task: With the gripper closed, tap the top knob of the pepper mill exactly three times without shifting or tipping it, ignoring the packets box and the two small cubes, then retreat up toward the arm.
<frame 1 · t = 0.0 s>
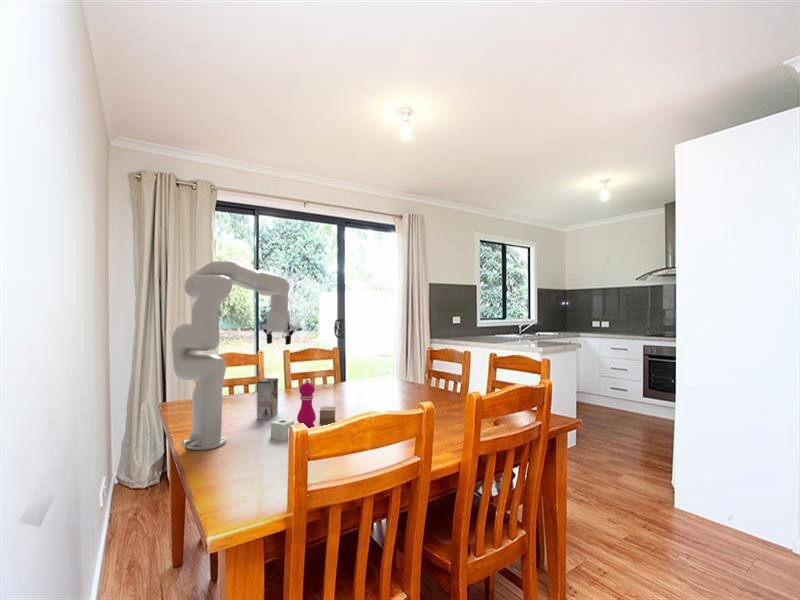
hand: (278, 343, 185), 31 cm above the table, tool pointing down, fingers open, 9 cm apart
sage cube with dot: (282, 437, 150), on the table
walnut cube: (327, 422, 169), on the table
coffee box: (267, 416, 177), on the table
pepper mill: (306, 429, 160), on the table
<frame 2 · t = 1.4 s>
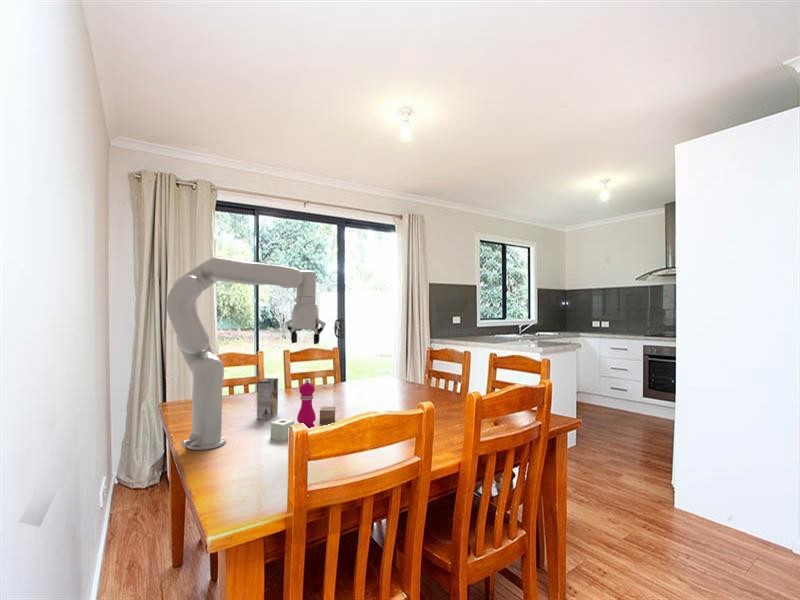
hand: (305, 343, 162), 34 cm above the table, tool pointing down, fingers open, 9 cm apart
nothing on the table moved.
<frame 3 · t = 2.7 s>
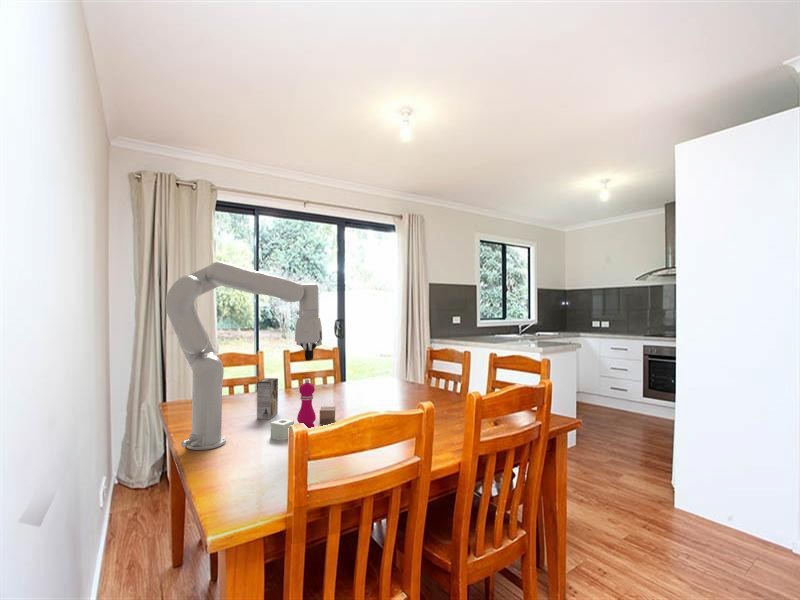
hand: (309, 360, 160), 28 cm above the table, tool pointing down, fingers closed
nothing on the table moved.
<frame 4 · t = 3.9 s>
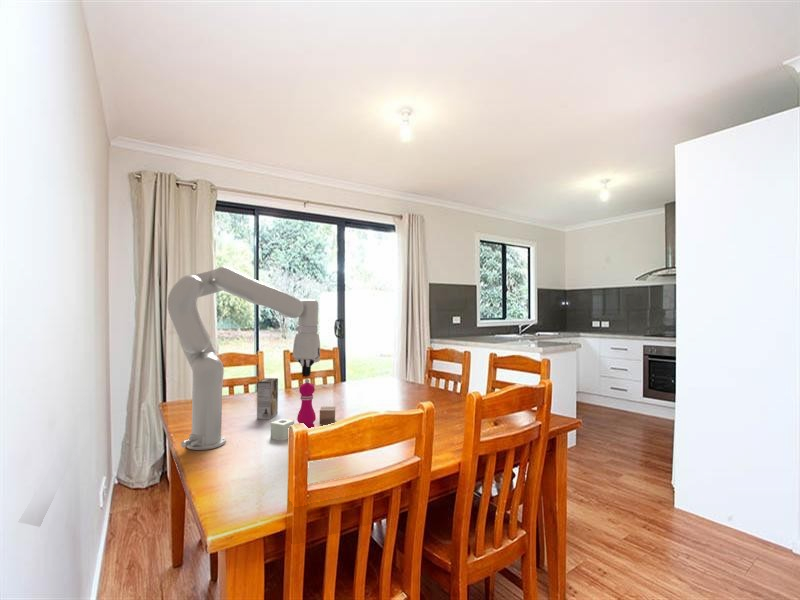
hand: (306, 376, 160), 21 cm above the table, tool pointing down, fingers closed
nothing on the table moved.
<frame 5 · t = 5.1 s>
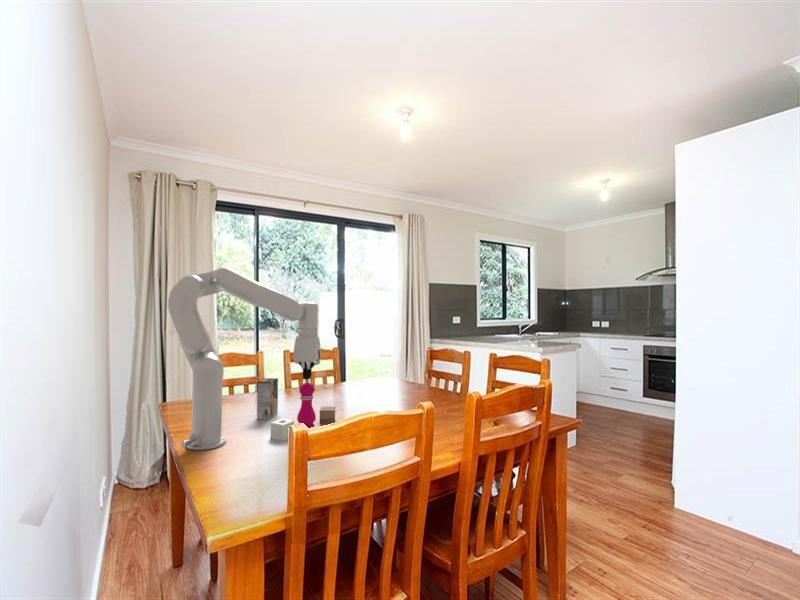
hand: (307, 378, 160), 20 cm above the table, tool pointing down, fingers closed
nothing on the table moved.
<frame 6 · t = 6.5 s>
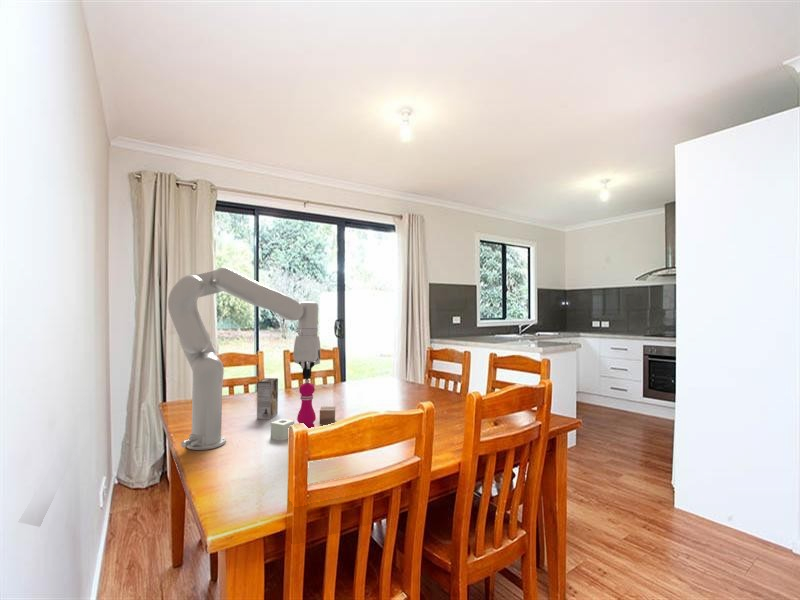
hand: (306, 378, 160), 20 cm above the table, tool pointing down, fingers closed
nothing on the table moved.
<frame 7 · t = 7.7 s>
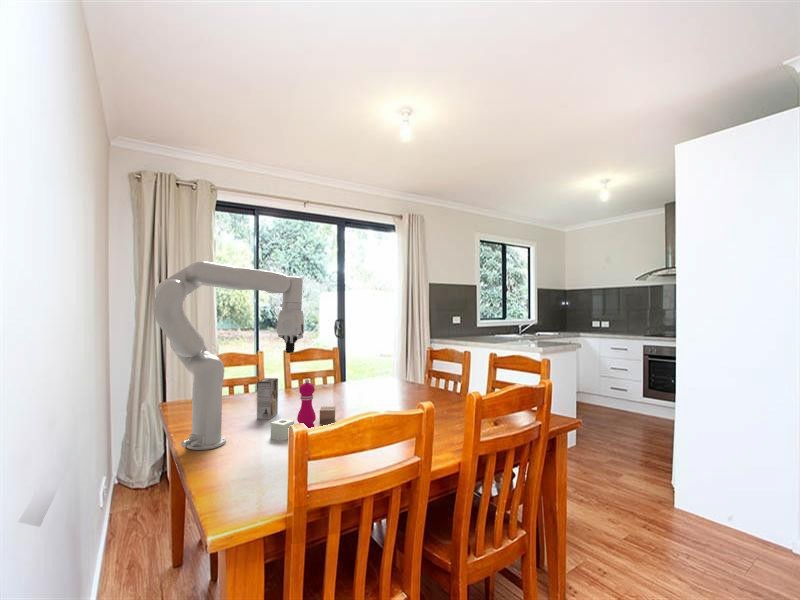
hand: (289, 352, 160), 30 cm above the table, tool pointing down, fingers closed
nothing on the table moved.
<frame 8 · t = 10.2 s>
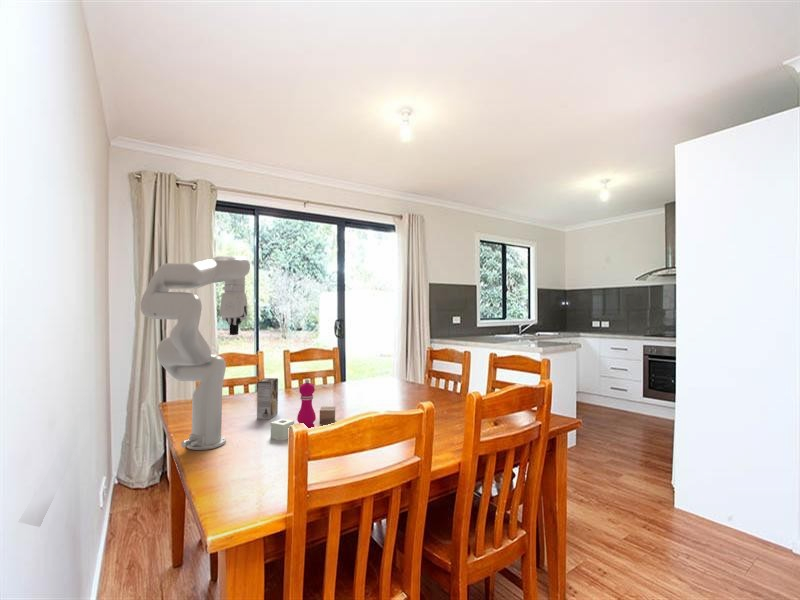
hand: (233, 334, 162), 37 cm above the table, tool pointing down, fingers closed
nothing on the table moved.
at the end: pepper mill moved 0.2 cm from its start; pepper mill tilted 0°; pepper mill touching table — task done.
